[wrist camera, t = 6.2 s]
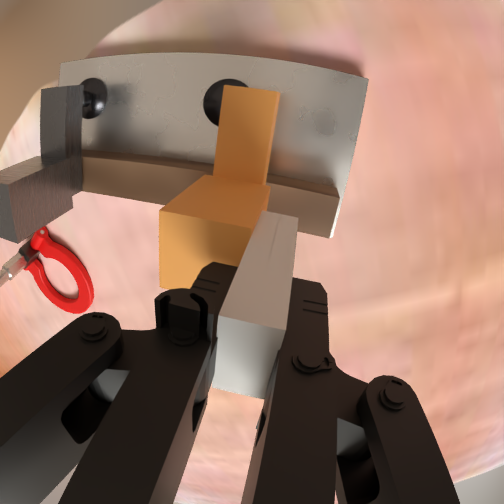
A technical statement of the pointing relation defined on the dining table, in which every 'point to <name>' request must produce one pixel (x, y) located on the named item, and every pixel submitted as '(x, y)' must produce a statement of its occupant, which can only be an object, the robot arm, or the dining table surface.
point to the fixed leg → (46, 167)
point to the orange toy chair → (221, 192)
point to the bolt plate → (215, 127)
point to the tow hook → (29, 261)
